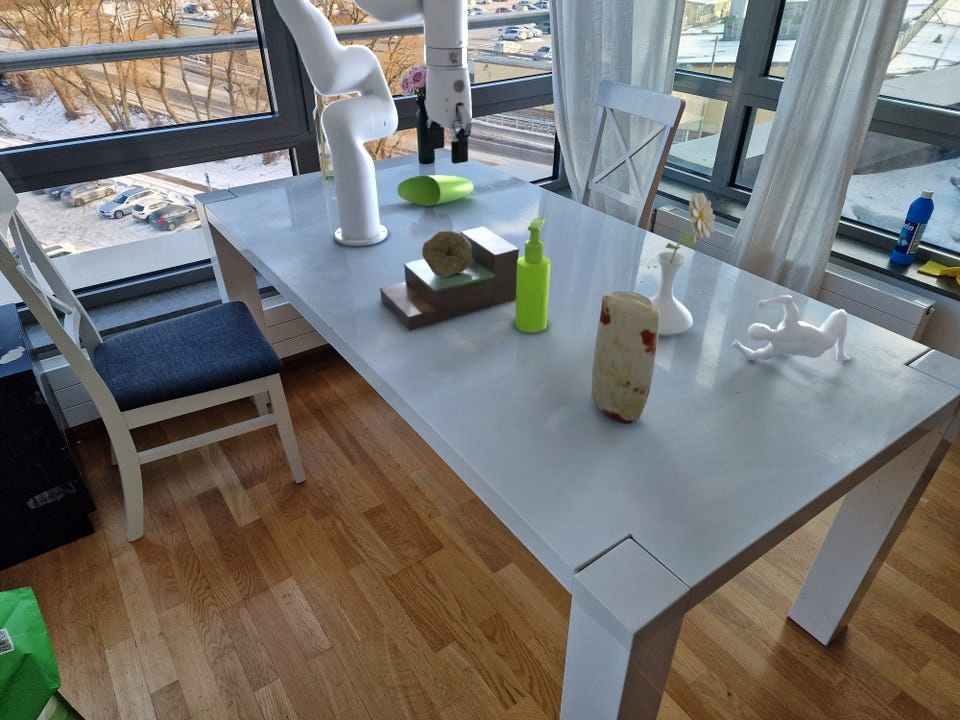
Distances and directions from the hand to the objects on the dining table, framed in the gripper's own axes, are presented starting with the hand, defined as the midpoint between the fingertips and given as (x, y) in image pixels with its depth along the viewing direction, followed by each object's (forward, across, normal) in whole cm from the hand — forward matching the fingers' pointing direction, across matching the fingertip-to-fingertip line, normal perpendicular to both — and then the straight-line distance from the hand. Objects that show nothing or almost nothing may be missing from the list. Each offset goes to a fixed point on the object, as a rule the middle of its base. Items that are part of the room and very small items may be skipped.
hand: (447, 155), depth 120 cm
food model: (+25, -54, -1) cm, 60 cm away
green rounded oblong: (+27, +44, -19) cm, 55 cm away
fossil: (+19, -9, +5) cm, 22 cm away
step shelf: (+26, -9, +5) cm, 28 cm away
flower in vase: (+25, -37, -26) cm, 52 cm away
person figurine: (+25, -57, -36) cm, 72 cm away
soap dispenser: (+26, -25, -5) cm, 36 cm away
